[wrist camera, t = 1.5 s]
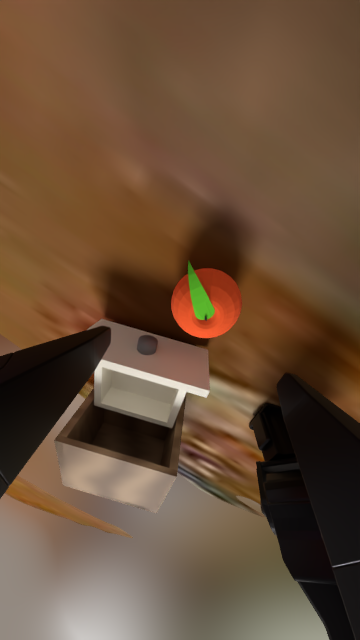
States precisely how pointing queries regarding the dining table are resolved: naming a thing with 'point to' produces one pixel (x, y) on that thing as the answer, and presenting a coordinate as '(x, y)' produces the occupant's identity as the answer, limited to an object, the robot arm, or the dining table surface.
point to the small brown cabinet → (119, 455)
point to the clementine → (206, 302)
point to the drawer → (148, 374)
